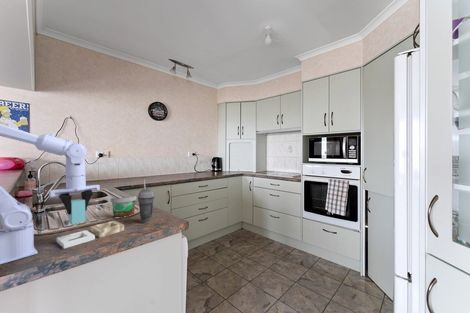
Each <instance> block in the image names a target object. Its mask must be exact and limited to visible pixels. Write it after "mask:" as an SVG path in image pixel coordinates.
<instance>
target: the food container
mask: <svg viewBox="0 0 470 313" xmlns="http://www.w3.org/2000/svg"><path fill="white" fill-rule="evenodd" d="M136 200H137V201H138V196H137V195H134V196H130V197H126V196H124V197H123V196H122V197H118V198H117V197H116V198H113V197H111V198H110V203H111V204H112V205H111V206H112V213H113V218H115V217H124V216H129V215H132V214H134V215H135V208H136ZM132 216H133V215H132Z"/></svg>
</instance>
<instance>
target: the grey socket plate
mask: <svg viewBox="0 0 470 313" xmlns="http://www.w3.org/2000/svg"><path fill="white" fill-rule="evenodd" d="M94 240H96V236H95V235H94V234H92V233H91V231H89V230H87V229H86V230H85V229H84V230H80V231H78V232H74V233H70V234H65V235H61V236H57V237H56V243H57V244H58V245H59V246H61V248H62V249H67V248H71V247H73V246H77V245H81V244H84V243H87V242H91V241H94Z"/></svg>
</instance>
